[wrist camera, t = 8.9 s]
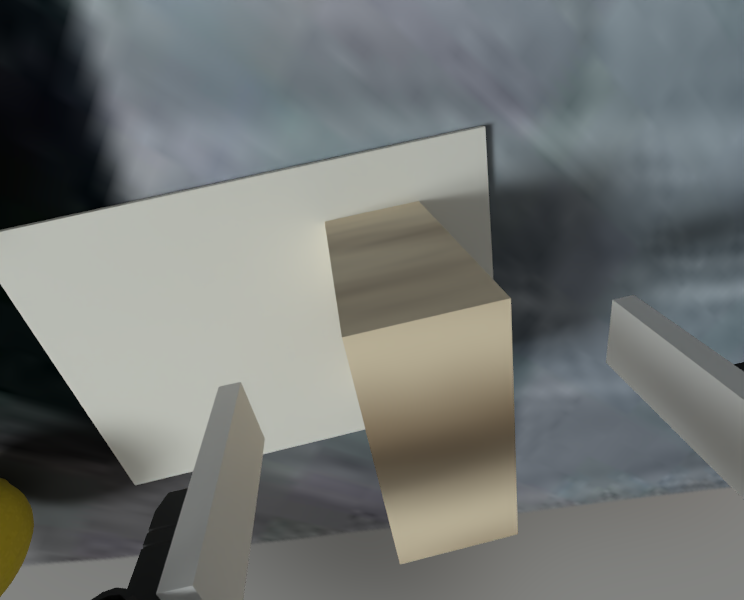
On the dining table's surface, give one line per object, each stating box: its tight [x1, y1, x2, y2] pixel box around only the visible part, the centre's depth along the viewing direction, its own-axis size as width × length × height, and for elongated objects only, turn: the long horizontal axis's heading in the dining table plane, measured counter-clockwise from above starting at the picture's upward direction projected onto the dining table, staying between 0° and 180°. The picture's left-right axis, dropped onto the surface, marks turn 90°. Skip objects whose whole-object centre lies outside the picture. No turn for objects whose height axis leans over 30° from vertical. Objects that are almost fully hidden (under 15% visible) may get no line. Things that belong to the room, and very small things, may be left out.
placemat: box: [0, 126, 493, 485], centre depth 20 cm, size 20×14×1 cm
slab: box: [325, 201, 518, 564], centre depth 16 cm, size 9×4×9 cm, turn 10°
